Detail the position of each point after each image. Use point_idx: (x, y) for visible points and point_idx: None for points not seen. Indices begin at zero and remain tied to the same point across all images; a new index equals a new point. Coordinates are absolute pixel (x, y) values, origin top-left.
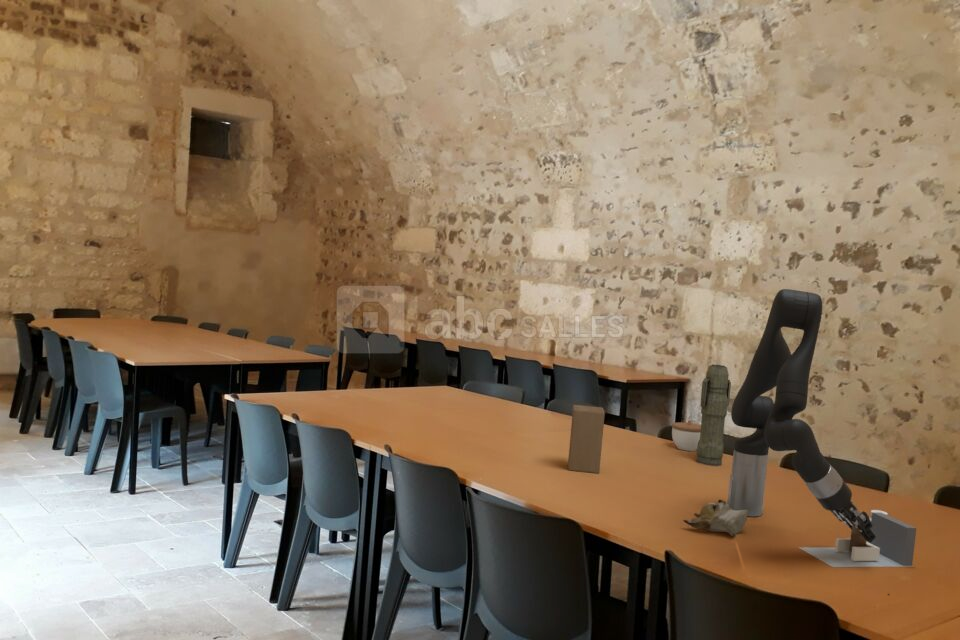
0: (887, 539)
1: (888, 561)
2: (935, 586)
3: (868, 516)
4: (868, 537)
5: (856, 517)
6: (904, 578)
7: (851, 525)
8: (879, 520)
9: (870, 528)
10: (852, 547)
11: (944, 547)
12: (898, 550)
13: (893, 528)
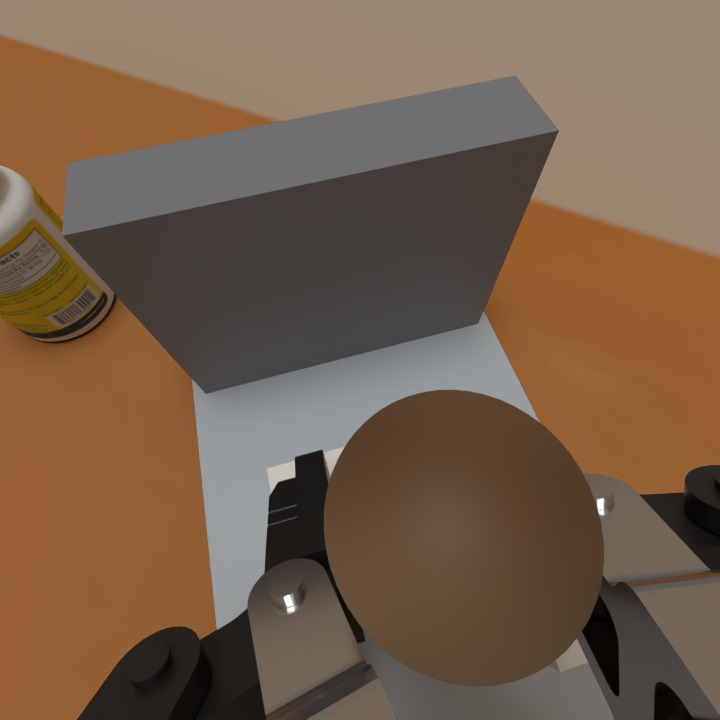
0: (343, 297)
1: (433, 373)
2: (645, 280)
3: (490, 408)
4: None
5: (666, 704)
6: (600, 375)
7: (356, 622)
8: (207, 244)
9: (4, 288)
10: (563, 670)
11: (117, 87)
12: (446, 294)
13: (391, 214)
